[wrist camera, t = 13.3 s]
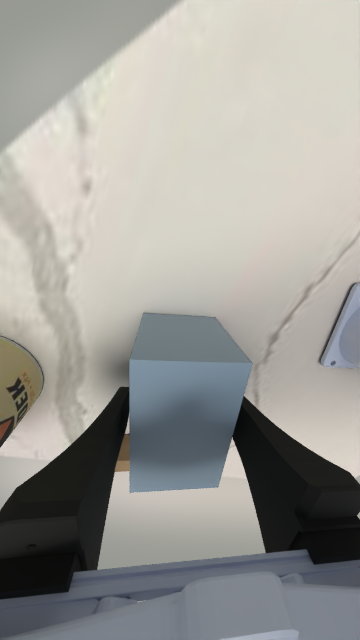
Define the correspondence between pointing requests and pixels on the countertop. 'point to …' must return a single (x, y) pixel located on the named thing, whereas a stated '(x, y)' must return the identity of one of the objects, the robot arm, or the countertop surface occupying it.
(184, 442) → the blue-grey rectangular block
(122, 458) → the brown rectangular block
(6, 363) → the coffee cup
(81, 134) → the countertop surface
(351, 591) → the robot arm
